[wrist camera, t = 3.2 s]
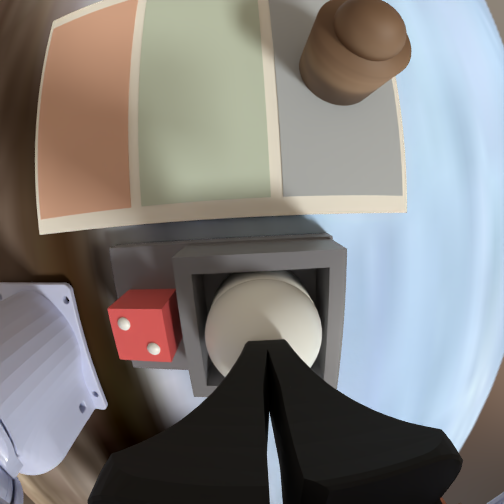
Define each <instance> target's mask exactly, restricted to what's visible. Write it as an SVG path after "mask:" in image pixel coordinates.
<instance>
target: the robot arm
mask: <svg viewBox="0 0 504 504" xmlns="http://www.w3.org/2000/svg"><path fill="white" fill-rule="evenodd" d="M66 297H68V299H69V302H68V301H67V299H66ZM96 392H97V393H96ZM107 405H108V404H107V401H106V398H105V396H104V393H103V391H102V388H101V385H100V383H99V380H98V377H97V374H96V371H95V368H94V365H93V362H92V359H91V356H90V353H89V350H88V347H87V343H86V340H85V336H84V333H83V329H82V325H81V322H80V318H79V314H78V310H77V305H76V301H75V297H74V292H73V289H72V287H71V285H70V284H68V283H29V282H0V504H23V489H22V486H21V483H20V481H19V479H18V478H17V475H18V473H22V474H26V475H39V474H43V473H46V472H48V471H50V470H52V469H53V468H55V467H56V466H57V465H59V463H60V462H61V461H62V460H63V459H64V457H65V456H66V454H67V453H68V451H69V449H70V448H71V446H72V444H73V443H74V441H75V440H76V438H77V436H78V435H79V433H80V432H81V430H82V428H83V427H84V425H85V424H86V422H87V420H88V419H89V417H90V416H91V414H92V412H93V411H94V409H95V408H97V409H102V410H104V409H106V407H107ZM269 412H270V417H271V422H272V427H273V433H274V438H275V443H276V448H277V453H278V458H279V464H280V472H281V485H282V498H283V504H442V502H441V500H440V498H441V497H442V496H443V494H444V493H445V492H446V491H447V489H448V488H449V487H450V485H451V484H452V483H453V481H454V480H455V479H456V477H457V475H458V473H459V472H460V470H461V467H462V462H463V460H462V458H461V456H460V455H459V453H458V451H457V450H456V448H455V447H454V445H453V444H452V442H451V441H450V439H449V438H448V437H447V435H446V434H445V433H444V432H443V431H442V430H441V429H436V428H431V427H426V426H421V425H417V424H412V423H408V422H405V421H402V420H399V419H396V418H393V417H390V416H387V415H384V414H382V413H379V412H377V411H374V410H372V409H370V408H368V407H366V406H364V405H362V404H360V403H358V402H356V401H354V400H352V399H351V398H349V397H347V396H346V395H344V394H342V393H341V392H339V391H338V390H336V389H335V388H333V387H332V386H331V385H329V384H328V383H327V382H326V381H324V380H323V379H322V378H321V377H320V376H318V375H317V374H316V373H315V372H314V371H313V370H312V369H311V368H310V367H309V366H308V365H307V364H306V363H305V362H304V361H303V360H302V359H301V358H300V357H299V356H298V354H297V353H296V352H295V351H294V350H293V348H292V347H291V346H290V345H289V343H288V342H287V341H286V340H285V339H277V340H260V341H248V342H247V343H246V344H245V345H244V348H243V350H242V352H241V354H240V356H239V357H238V359H237V361H236V362H235V364H234V365H233V367H232V368H231V370H230V371H229V373H228V374H227V376H226V377H225V378H224V379H223V380H222V382H221V383H220V384H219V385H218V387H217V388H216V389H215V390H214V391H213V392H212V393H211V394H210V395H209V396H208V398H207V399H205V400H204V401H203V402H202V403H201V404H200V405H199V406H198V407H197V408H196V409H194V410H193V411H192V412H191V413H189V414H188V415H187V416H186V417H184V418H183V419H182V420H180V421H179V422H177V423H176V424H174V425H173V426H171V427H169V428H168V429H166V430H165V431H163V432H161V433H159V434H157V435H155V436H154V437H152V438H150V439H148V440H145V441H143V442H141V443H139V444H136V445H134V446H131V447H129V448H126V449H124V450H121V451H119V452H116V453H113V454H111V456H110V457H109V459H108V460H107V462H106V464H105V465H104V467H103V468H102V470H101V472H100V474H99V476H98V478H97V481H96V483H95V485H94V487H93V489H92V492H91V494H90V496H89V498H88V504H270V500H269V482H268V467H267V442H268V425H269ZM487 504H504V492H503V493H502V494H500V495H499V496H497V497H496V498H494V499H493V500H491V501H490V502H488V503H487Z"/></svg>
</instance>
